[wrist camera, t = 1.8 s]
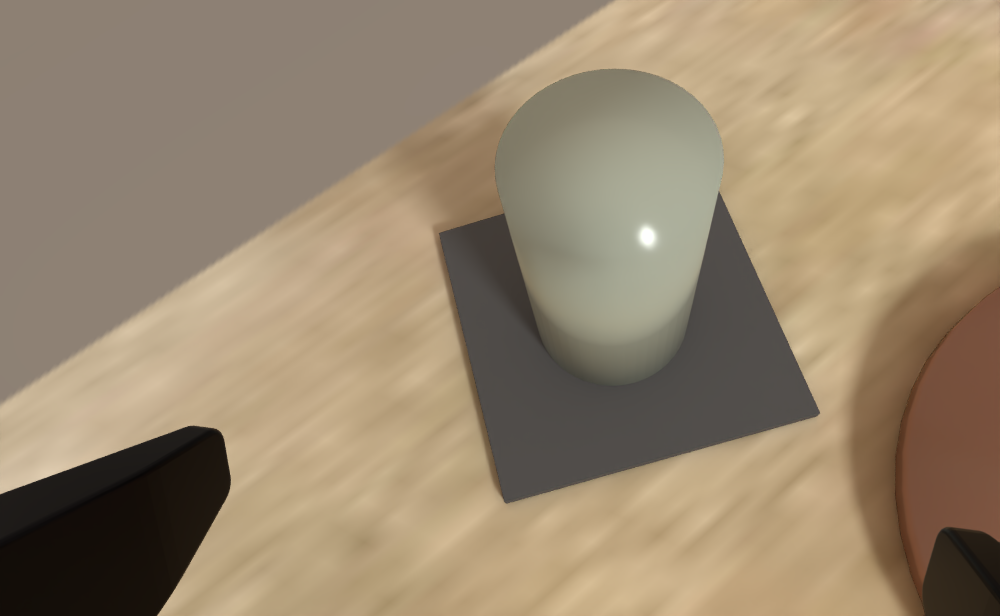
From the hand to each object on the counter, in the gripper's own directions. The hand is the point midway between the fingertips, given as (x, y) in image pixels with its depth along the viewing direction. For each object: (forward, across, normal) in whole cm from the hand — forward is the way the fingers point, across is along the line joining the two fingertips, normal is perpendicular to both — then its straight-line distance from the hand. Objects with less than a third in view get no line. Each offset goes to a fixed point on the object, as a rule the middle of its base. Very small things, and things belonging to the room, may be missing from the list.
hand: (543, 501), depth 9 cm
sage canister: (+15, 0, +4) cm, 15 cm away
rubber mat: (+15, 0, +4) cm, 16 cm away
